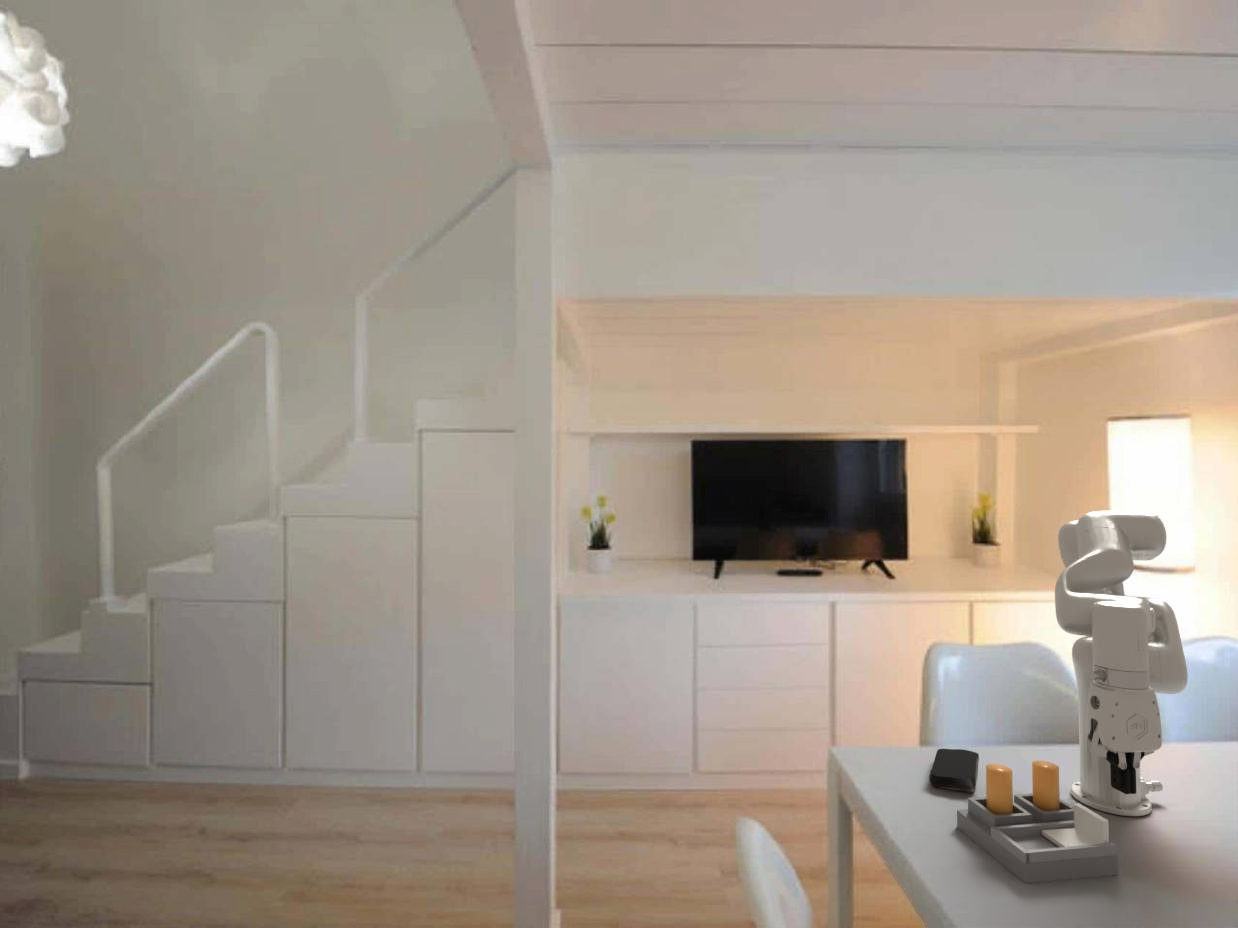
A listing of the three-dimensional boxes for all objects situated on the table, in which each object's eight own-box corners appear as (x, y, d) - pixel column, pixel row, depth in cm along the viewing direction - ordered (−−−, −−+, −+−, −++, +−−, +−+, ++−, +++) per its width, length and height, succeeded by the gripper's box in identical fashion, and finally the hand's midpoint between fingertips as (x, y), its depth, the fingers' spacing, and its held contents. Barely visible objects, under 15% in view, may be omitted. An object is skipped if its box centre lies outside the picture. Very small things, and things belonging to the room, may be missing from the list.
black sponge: (975, 799, 132) (975, 780, 132) (928, 789, 136) (928, 771, 136) (980, 768, 146) (979, 751, 146) (937, 760, 150) (936, 743, 150)
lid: (1079, 831, 113) (1079, 803, 113) (1109, 850, 107) (1108, 820, 107) (1041, 834, 112) (1041, 806, 112) (1069, 853, 106) (1068, 823, 106)
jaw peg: (1002, 814, 119) (1001, 763, 120) (1018, 825, 115) (1017, 773, 116) (981, 815, 119) (980, 764, 119) (996, 827, 115) (996, 774, 115)
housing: (1045, 819, 123) (1044, 753, 123) (1126, 873, 106) (1125, 797, 107) (957, 826, 121) (955, 759, 121) (1025, 883, 104) (1024, 805, 104)
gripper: (1098, 685, 106) (1101, 803, 106) (1182, 682, 108) (1185, 798, 108) (1061, 672, 114) (1064, 782, 113) (1140, 670, 116) (1143, 778, 115)
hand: (1123, 790), depth 110 cm, fingers closed
